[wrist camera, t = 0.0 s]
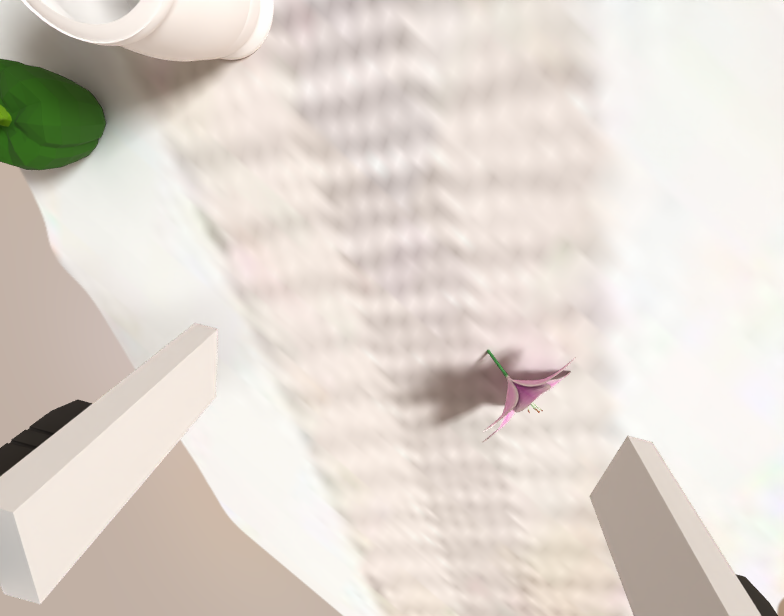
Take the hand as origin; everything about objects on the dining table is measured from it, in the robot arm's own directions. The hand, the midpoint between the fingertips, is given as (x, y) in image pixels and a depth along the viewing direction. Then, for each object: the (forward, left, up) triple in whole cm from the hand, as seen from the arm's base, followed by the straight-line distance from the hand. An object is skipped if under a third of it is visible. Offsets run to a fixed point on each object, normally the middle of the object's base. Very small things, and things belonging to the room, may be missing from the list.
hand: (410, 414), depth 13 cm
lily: (+14, +13, -28) cm, 34 cm away
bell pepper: (-1, -35, -28) cm, 45 cm away
